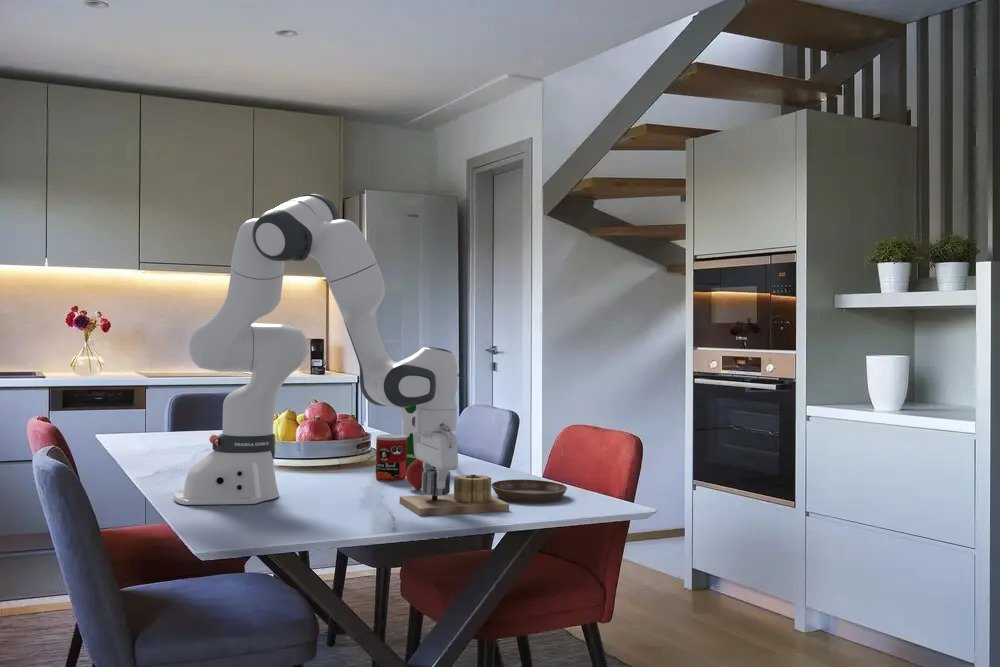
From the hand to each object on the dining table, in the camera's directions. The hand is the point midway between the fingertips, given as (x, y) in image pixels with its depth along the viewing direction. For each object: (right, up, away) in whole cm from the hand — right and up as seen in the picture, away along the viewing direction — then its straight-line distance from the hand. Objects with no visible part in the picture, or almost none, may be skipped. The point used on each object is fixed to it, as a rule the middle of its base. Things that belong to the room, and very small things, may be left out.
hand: (434, 485), depth 210 cm
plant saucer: (+21, -6, +15) cm, 26 cm away
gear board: (+4, -5, +1) cm, 6 cm away
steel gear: (0, -2, 0) cm, 2 cm away
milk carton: (-8, -4, +52) cm, 53 cm away
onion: (-5, -5, +22) cm, 23 cm away
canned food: (-14, -4, +37) cm, 39 cm away
